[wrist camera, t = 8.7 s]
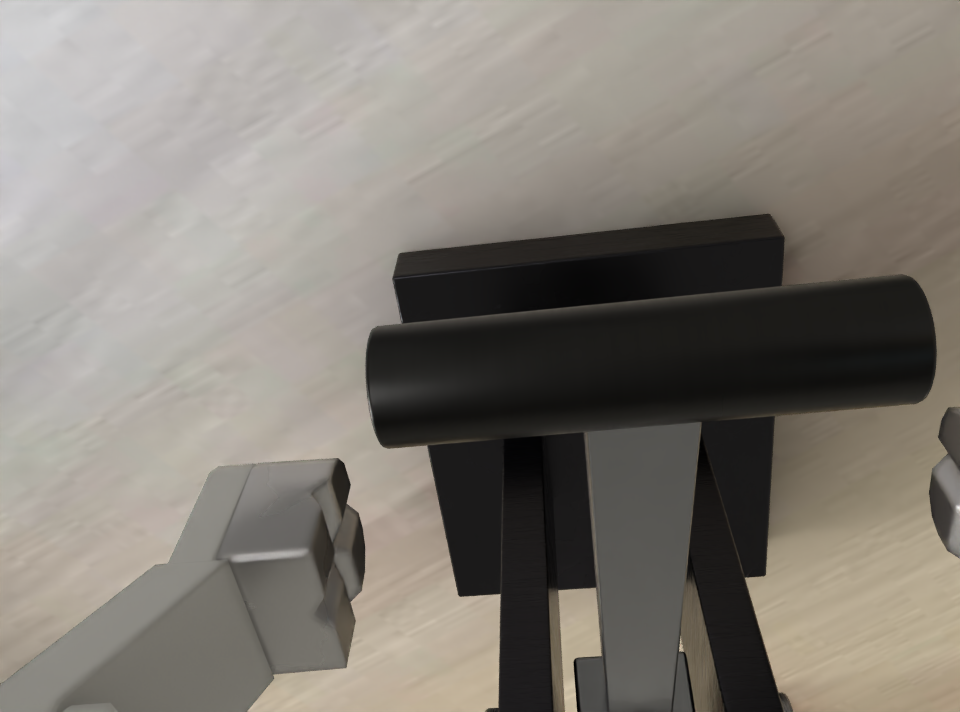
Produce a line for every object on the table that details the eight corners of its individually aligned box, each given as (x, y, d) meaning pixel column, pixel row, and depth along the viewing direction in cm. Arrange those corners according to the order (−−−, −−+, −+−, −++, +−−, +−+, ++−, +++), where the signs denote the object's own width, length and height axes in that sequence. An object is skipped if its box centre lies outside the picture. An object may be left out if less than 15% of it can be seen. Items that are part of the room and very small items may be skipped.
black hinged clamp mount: (397, 252, 24) (302, 621, 13) (770, 212, 23) (994, 575, 12) (460, 564, 30) (430, 985, 20) (755, 543, 29) (894, 974, 19)
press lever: (374, 257, 9) (354, 458, 7) (886, 203, 8) (978, 405, 7) (516, 706, 20) (521, 825, 18) (746, 693, 19) (770, 816, 18)
